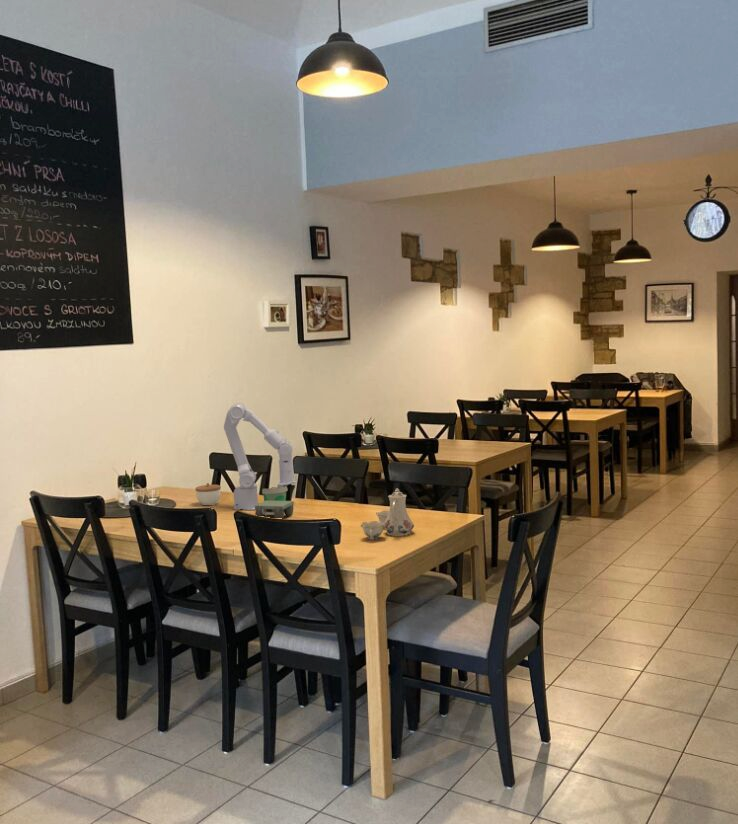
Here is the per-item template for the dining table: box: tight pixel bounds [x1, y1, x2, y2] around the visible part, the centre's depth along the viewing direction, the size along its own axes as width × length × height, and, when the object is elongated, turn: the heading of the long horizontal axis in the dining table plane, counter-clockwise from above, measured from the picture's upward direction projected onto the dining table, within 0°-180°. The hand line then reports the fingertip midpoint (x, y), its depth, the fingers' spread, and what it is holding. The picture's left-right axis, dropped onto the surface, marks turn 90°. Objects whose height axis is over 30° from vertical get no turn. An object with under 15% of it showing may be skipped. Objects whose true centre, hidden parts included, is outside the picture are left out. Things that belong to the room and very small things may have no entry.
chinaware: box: [360, 487, 415, 541], centre depth 286 cm, size 28×17×17 cm, turn 167°
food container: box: [261, 485, 288, 511], centre depth 331 cm, size 12×6×10 cm, turn 143°
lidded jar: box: [194, 482, 222, 506], centre depth 350 cm, size 11×11×9 cm
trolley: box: [254, 500, 294, 519], centre depth 318 cm, size 12×15×6 cm
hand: (288, 502), depth 340 cm, fingers closed
